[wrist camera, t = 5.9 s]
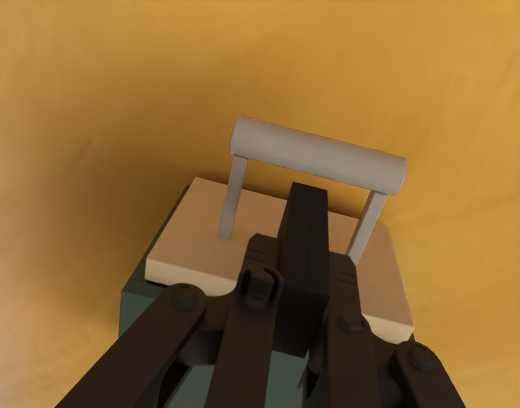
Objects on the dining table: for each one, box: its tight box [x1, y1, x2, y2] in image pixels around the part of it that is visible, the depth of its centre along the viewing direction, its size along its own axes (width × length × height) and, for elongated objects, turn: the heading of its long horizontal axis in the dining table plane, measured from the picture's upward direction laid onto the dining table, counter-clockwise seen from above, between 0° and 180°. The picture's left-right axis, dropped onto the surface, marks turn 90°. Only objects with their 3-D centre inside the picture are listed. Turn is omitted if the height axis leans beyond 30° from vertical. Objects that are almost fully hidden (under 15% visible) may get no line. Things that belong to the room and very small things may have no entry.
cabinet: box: [118, 185, 415, 408], centre depth 24 cm, size 15×13×10 cm
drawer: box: [145, 115, 415, 345], centre depth 22 cm, size 19×11×8 cm, turn 167°
